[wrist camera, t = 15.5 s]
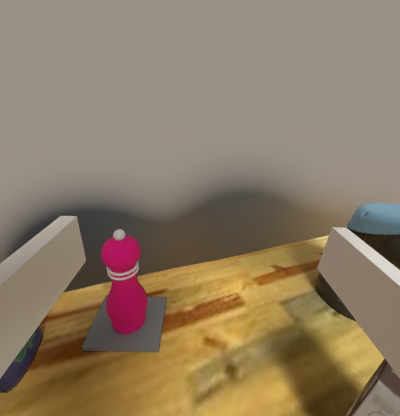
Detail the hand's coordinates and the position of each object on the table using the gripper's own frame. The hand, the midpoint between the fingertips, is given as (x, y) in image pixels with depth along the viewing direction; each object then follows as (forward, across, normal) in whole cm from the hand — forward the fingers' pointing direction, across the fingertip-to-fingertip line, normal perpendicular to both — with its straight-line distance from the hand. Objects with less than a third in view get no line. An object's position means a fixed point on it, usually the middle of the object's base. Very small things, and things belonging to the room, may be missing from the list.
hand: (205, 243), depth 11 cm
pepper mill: (+18, -12, -31) cm, 38 cm away
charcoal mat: (+19, -12, -32) cm, 39 cm away
